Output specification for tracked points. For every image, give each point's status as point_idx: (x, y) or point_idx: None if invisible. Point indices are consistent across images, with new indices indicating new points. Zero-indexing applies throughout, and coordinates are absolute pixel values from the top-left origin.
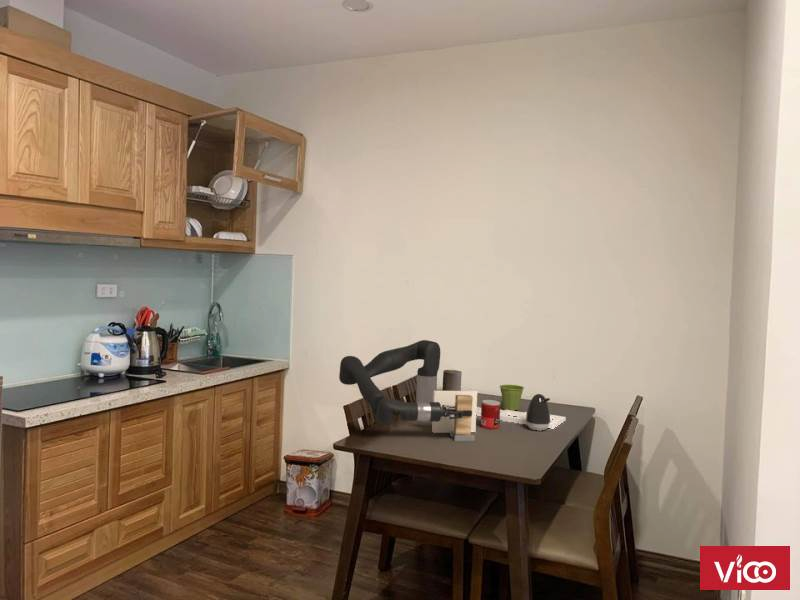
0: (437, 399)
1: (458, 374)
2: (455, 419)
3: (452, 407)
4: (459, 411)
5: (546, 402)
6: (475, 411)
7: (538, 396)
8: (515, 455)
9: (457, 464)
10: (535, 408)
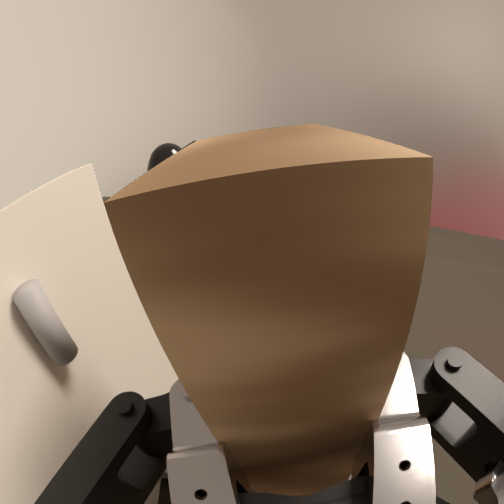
0: None
1: None
2: (304, 480)
3: (234, 483)
4: (465, 379)
5: None
6: (133, 294)
7: (173, 146)
8: (474, 279)
9: None
10: None
